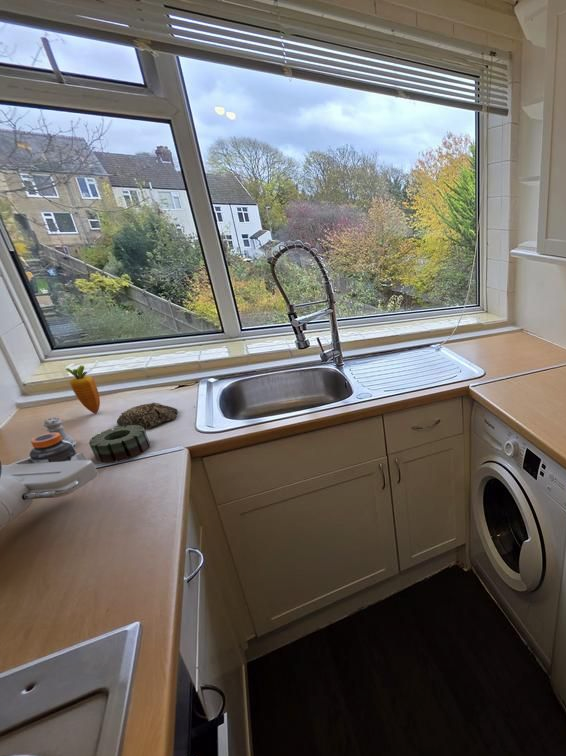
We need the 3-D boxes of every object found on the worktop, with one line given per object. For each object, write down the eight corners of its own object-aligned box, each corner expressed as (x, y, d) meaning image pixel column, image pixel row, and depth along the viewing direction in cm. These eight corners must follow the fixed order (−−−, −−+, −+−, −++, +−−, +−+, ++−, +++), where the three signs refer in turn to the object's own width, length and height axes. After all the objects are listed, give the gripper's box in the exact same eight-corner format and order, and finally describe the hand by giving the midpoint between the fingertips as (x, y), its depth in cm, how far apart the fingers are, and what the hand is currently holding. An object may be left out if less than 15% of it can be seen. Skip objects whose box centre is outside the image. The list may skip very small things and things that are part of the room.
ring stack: (94, 467, 96) (86, 450, 94) (99, 448, 103) (92, 432, 101) (149, 453, 101) (142, 437, 99) (150, 437, 108) (144, 421, 107)
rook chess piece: (51, 447, 103) (37, 419, 100) (76, 440, 106) (63, 413, 103) (52, 454, 100) (37, 425, 97) (77, 447, 103) (64, 419, 100)
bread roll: (111, 426, 113) (104, 410, 111) (157, 407, 124) (151, 392, 122) (145, 433, 110) (138, 417, 108) (189, 413, 121) (184, 398, 119)
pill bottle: (87, 471, 89) (66, 426, 85) (87, 483, 85) (66, 437, 81) (48, 482, 85) (24, 435, 81) (46, 496, 81) (21, 447, 77)
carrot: (79, 416, 118) (57, 368, 112) (97, 408, 122) (77, 362, 116) (93, 418, 117) (72, 369, 111) (111, 410, 122) (92, 363, 116)
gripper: (55, 480, 72) (111, 440, 84) (-88, 490, 68) (-7, 446, 81) (69, 509, 74) (122, 465, 87) (-68, 519, 71) (8, 473, 83)
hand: (59, 456), depth 84 cm, fingers closed on pill bottle, 6 cm apart
